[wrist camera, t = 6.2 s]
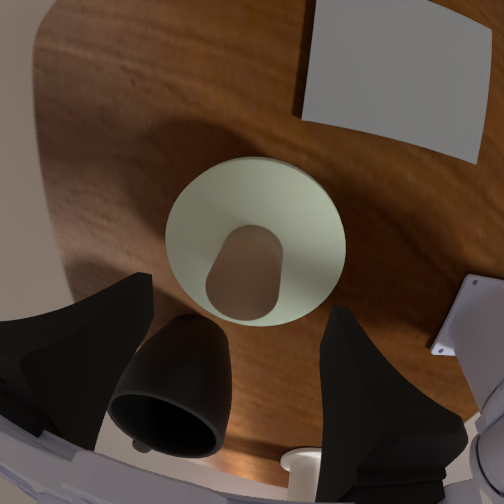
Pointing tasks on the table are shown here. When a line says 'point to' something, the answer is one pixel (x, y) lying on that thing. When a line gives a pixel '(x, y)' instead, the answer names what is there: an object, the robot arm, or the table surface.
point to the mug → (177, 390)
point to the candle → (302, 473)
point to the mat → (400, 73)
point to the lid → (256, 241)
